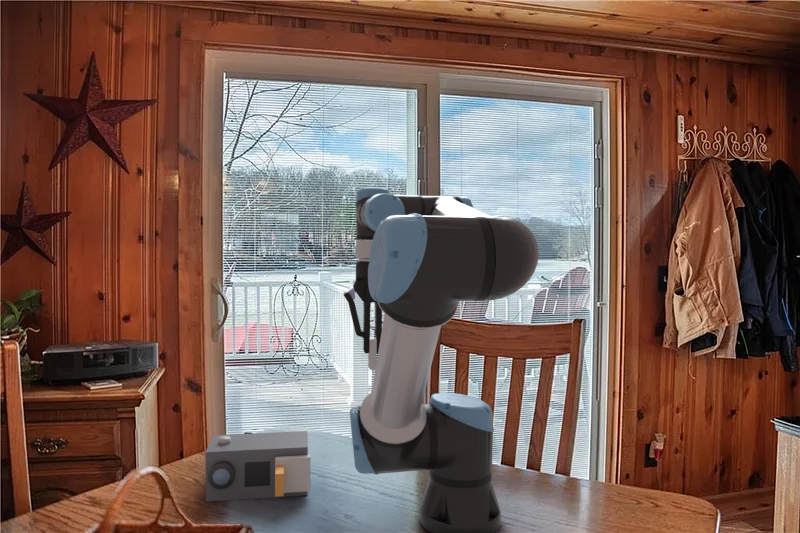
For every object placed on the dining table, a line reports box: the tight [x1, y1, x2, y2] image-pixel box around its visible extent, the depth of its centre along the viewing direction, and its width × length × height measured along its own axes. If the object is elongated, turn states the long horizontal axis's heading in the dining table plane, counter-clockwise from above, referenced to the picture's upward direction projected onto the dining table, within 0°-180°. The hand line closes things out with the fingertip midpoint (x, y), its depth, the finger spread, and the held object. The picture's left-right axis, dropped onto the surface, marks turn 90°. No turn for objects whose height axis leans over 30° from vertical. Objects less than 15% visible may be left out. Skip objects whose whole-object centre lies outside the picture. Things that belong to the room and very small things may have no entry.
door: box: [274, 454, 312, 498], centre depth 114 cm, size 6×7×7 cm
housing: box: [205, 430, 309, 503], centre depth 120 cm, size 12×20×11 cm, turn 100°
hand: (372, 367), depth 126 cm, fingers closed
